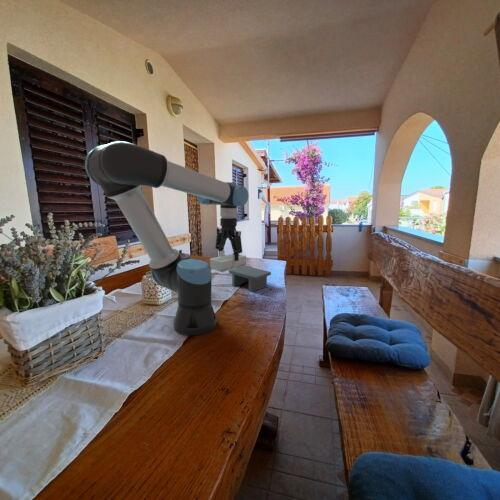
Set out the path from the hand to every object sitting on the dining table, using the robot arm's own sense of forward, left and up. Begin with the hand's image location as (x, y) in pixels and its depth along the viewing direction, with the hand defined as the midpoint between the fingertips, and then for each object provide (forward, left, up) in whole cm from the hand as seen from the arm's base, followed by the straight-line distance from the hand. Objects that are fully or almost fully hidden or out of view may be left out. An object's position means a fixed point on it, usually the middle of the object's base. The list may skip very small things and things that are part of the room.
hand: (228, 265), depth 120 cm
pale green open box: (0, 0, 0) cm, 0 cm away
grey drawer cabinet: (+16, 0, -14) cm, 22 cm away
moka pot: (-12, +23, -14) cm, 29 cm away
